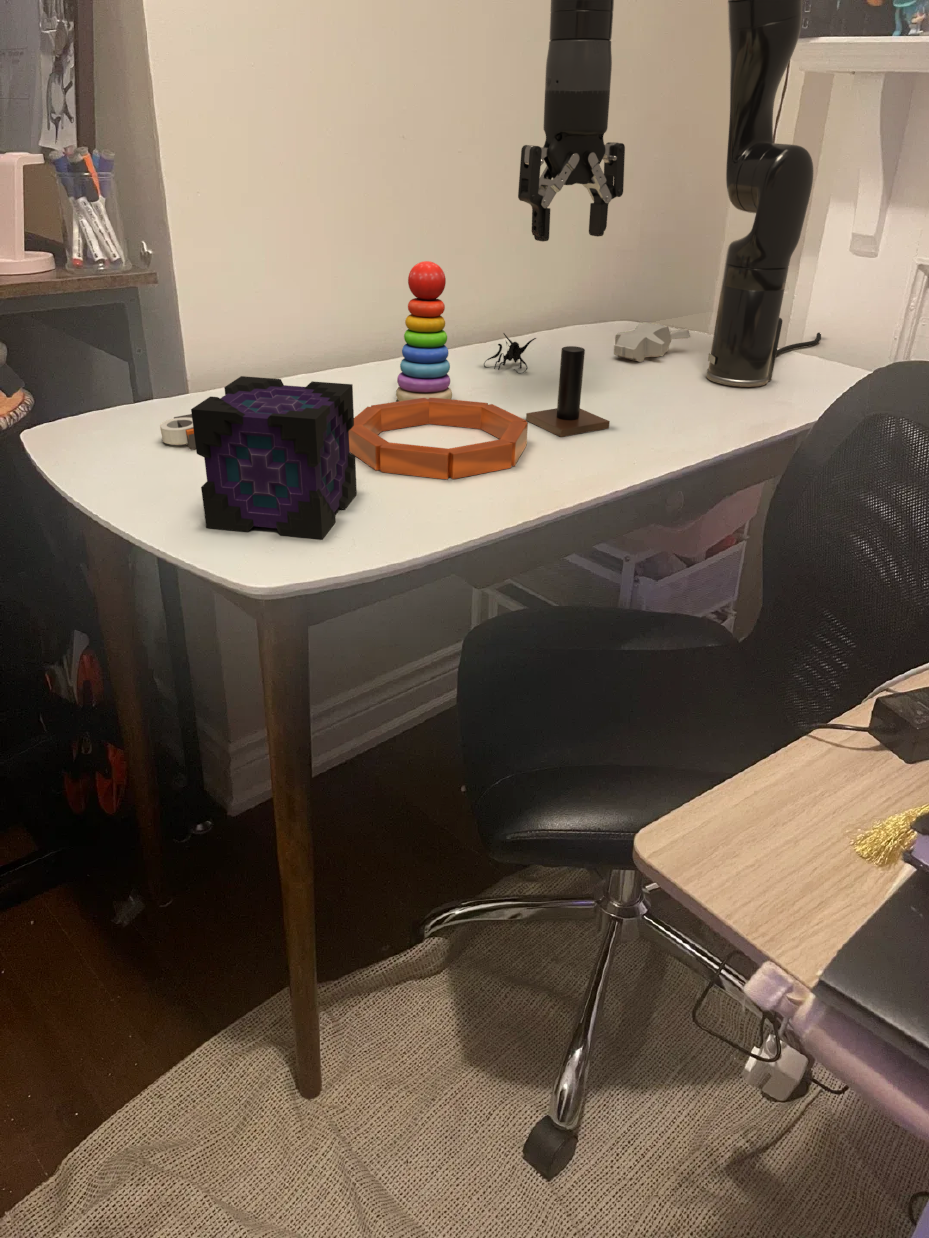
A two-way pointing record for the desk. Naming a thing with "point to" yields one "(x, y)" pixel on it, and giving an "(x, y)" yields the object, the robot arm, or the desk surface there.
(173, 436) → the tape dispenser
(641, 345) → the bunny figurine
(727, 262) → the robot arm
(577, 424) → the post
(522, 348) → the creature
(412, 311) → the stacking toy
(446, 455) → the ring
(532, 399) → the desk surface
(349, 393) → the energy cube
